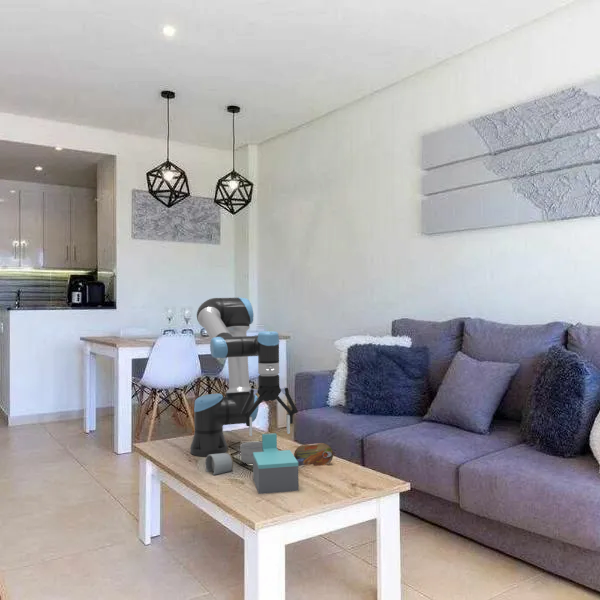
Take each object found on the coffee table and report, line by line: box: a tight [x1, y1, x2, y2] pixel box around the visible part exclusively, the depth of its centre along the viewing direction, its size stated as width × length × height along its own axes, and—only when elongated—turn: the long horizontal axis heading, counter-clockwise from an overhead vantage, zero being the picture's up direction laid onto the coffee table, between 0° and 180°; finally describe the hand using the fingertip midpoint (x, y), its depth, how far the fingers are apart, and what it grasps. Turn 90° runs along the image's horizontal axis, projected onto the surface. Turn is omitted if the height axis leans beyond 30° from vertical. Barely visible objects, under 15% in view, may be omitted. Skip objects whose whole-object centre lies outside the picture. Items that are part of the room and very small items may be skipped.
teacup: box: [240, 440, 263, 465], centre depth 211 cm, size 14×11×8 cm
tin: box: [293, 442, 334, 467], centre depth 208 cm, size 15×3×8 cm, turn 105°
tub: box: [252, 457, 300, 495], centre depth 184 cm, size 15×13×9 cm
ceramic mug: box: [204, 452, 234, 476], centre depth 201 cm, size 11×8×8 cm
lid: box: [253, 432, 299, 469], centre depth 187 cm, size 21×13×7 cm, turn 12°
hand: (269, 434), depth 196 cm, fingers open, 13 cm apart
